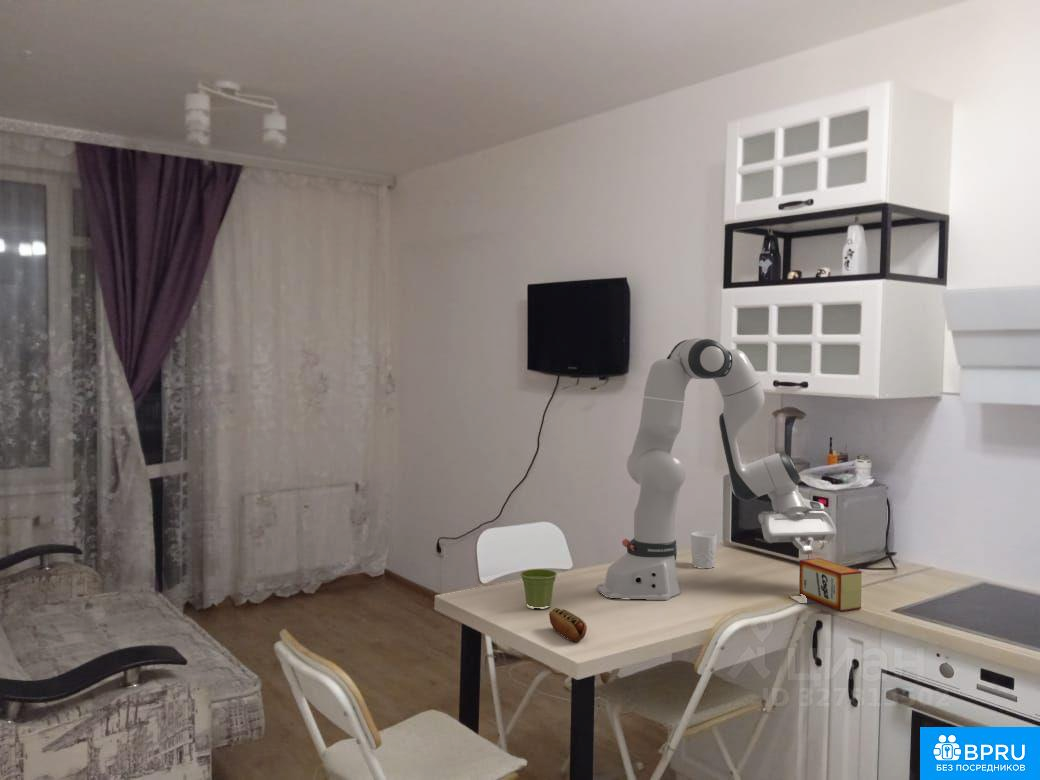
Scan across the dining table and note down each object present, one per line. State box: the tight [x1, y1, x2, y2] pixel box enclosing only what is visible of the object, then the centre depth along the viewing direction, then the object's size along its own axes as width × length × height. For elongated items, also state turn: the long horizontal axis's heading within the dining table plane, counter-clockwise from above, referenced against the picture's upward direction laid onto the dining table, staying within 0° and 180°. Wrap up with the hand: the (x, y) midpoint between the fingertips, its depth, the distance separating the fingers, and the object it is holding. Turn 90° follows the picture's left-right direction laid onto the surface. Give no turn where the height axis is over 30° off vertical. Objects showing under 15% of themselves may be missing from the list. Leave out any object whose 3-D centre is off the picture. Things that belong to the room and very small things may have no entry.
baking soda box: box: [798, 557, 862, 612], centre depth 218 cm, size 10×6×16 cm
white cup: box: [690, 531, 718, 569], centre depth 257 cm, size 8×8×10 cm
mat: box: [806, 598, 820, 605], centre depth 221 cm, size 12×7×1 cm, turn 99°
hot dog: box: [548, 607, 588, 642], centre depth 191 cm, size 5×13×5 cm, turn 23°
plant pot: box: [520, 568, 558, 607], centre depth 213 cm, size 9×9×9 cm
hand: (807, 553), depth 225 cm, fingers closed
